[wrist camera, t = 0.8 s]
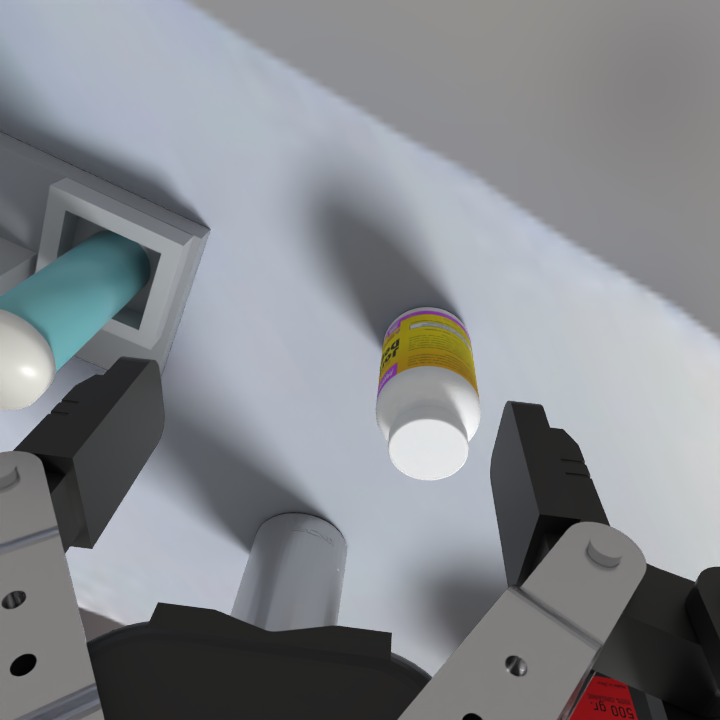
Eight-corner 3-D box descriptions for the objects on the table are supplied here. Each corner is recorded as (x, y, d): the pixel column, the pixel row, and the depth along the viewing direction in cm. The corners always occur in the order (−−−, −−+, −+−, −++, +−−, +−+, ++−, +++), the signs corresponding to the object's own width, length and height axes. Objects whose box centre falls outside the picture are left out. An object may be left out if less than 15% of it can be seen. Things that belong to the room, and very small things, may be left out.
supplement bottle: (391, 296, 43) (382, 393, 32) (479, 312, 43) (500, 414, 32) (376, 371, 46) (363, 482, 35) (458, 385, 46) (470, 501, 35)
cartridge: (144, 308, 43) (35, 424, 31) (73, 278, 42) (-68, 384, 30) (162, 246, 40) (50, 346, 28) (87, 212, 39) (-62, 299, 27)
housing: (161, 375, 48) (112, 443, 40) (-68, 278, 45) (-168, 332, 38) (210, 229, 41) (162, 278, 33) (-58, 104, 38) (-177, 126, 31)
